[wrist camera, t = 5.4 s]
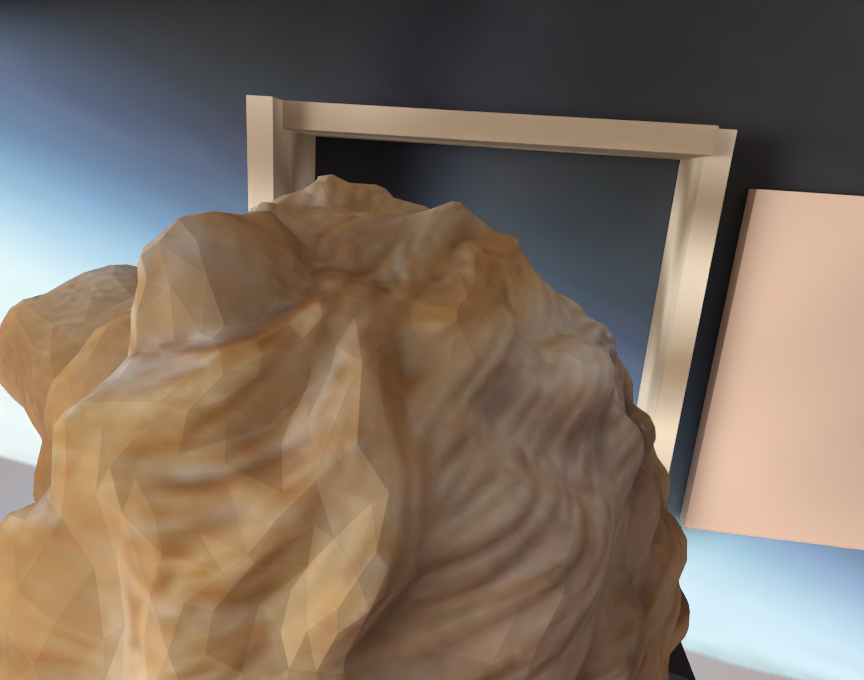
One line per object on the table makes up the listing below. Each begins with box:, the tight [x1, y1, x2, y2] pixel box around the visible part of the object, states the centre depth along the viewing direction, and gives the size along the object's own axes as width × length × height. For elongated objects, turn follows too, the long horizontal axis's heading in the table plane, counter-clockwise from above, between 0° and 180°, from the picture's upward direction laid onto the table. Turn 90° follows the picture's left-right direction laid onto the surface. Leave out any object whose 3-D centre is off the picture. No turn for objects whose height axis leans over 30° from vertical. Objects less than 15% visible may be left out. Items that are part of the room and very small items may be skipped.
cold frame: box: [246, 95, 737, 474], centre depth 25 cm, size 18×18×5 cm
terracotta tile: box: [680, 189, 864, 550], centre depth 26 cm, size 16×12×1 cm
